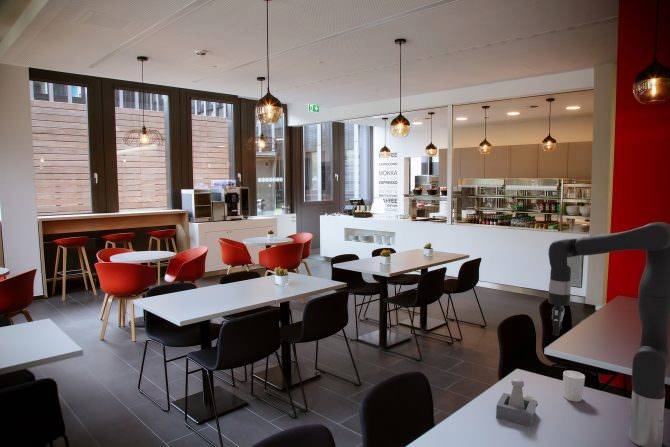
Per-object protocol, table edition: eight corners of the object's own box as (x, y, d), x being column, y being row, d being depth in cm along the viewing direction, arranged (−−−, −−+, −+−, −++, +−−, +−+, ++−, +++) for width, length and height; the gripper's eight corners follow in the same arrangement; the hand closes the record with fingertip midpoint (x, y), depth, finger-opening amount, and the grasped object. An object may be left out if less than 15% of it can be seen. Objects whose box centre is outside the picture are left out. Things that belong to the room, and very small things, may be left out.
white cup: (557, 395, 196) (559, 372, 195) (570, 392, 199) (572, 369, 198) (574, 403, 188) (575, 379, 187) (587, 400, 192) (589, 376, 191)
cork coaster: (538, 399, 192) (538, 398, 191) (535, 408, 184) (535, 407, 184) (515, 394, 196) (515, 392, 196) (511, 402, 188) (511, 401, 188)
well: (535, 412, 181) (536, 400, 180) (530, 426, 170) (530, 413, 170) (502, 404, 187) (503, 392, 186) (495, 417, 177) (496, 404, 176)
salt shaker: (525, 417, 175) (527, 383, 174) (509, 415, 176) (511, 382, 175) (522, 409, 181) (524, 377, 180) (506, 408, 182) (508, 375, 181)
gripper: (568, 296, 173) (565, 339, 175) (572, 289, 185) (569, 329, 187) (546, 293, 177) (543, 335, 179) (551, 286, 189) (548, 326, 191)
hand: (557, 332), depth 183 cm, fingers open, 8 cm apart
